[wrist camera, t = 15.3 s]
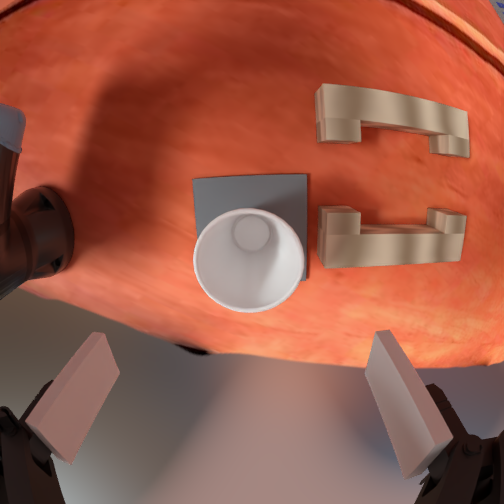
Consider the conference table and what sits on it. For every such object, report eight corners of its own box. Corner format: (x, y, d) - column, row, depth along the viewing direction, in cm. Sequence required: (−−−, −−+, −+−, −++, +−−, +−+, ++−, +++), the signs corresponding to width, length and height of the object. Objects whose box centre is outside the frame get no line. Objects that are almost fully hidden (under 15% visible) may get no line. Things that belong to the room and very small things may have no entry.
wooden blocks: (316, 254, 36) (325, 268, 31) (314, 93, 29) (323, 83, 24) (442, 249, 35) (459, 260, 30) (446, 114, 28) (467, 111, 23)
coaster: (203, 281, 38) (202, 283, 37) (193, 178, 33) (192, 179, 32) (305, 278, 37) (305, 280, 36) (306, 174, 32) (306, 174, 32)
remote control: (478, -28, 13) (482, -31, 11) (527, 49, 19) (532, 48, 17) (461, -34, 14) (466, -37, 12) (515, 48, 20) (521, 46, 18)
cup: (304, 247, 35) (322, 283, 24) (238, 281, 37) (230, 328, 26) (267, 178, 32) (270, 186, 22) (198, 218, 34) (172, 244, 24)
